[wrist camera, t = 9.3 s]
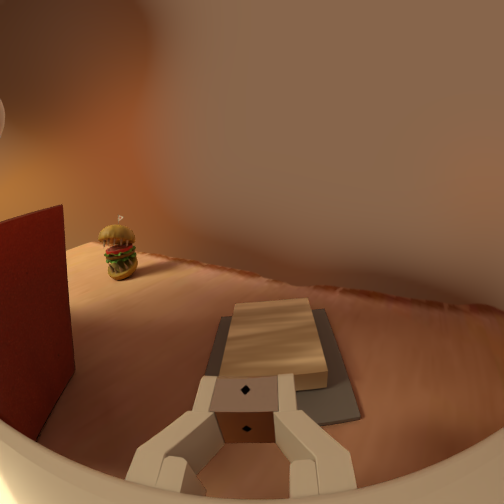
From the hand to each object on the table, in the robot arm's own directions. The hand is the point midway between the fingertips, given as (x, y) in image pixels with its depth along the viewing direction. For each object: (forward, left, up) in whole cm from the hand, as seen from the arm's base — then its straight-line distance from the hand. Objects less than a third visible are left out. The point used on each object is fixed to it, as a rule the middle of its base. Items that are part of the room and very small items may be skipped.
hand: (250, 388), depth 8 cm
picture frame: (-5, +6, -8) cm, 11 cm away
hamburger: (-48, +7, -10) cm, 49 cm away
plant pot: (-21, -16, -10) cm, 28 cm away
